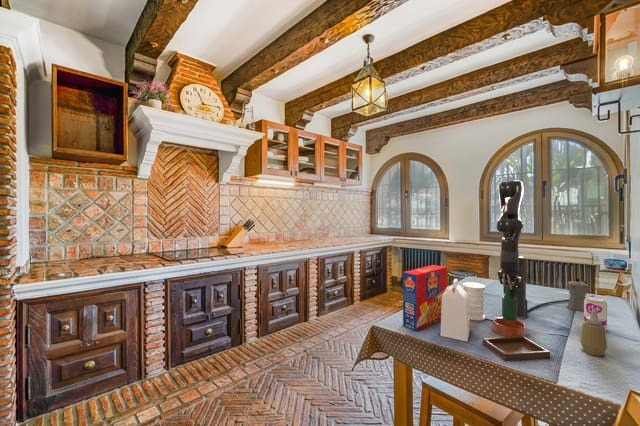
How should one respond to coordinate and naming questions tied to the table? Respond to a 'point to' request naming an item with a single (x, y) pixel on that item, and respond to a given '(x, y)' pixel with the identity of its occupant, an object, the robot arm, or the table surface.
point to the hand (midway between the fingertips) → (509, 295)
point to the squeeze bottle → (593, 335)
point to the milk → (455, 313)
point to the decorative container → (475, 300)
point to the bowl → (509, 327)
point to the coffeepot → (577, 294)
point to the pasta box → (423, 296)
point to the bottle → (509, 305)
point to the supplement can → (597, 305)
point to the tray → (516, 348)
